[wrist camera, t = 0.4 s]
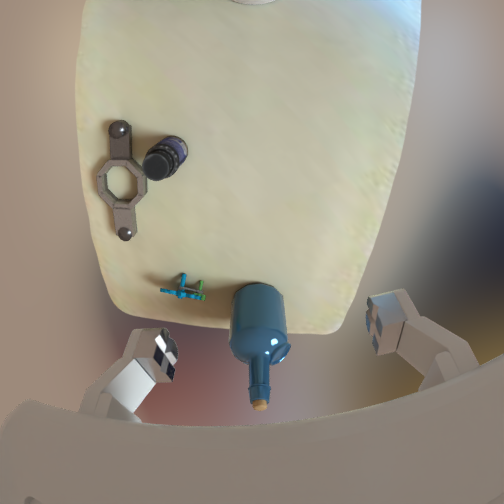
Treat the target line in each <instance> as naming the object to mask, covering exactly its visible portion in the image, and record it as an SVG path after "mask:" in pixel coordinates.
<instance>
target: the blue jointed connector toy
mask: <svg viewBox="0 0 504 504" xmlns="http://www.w3.org/2000/svg"><path fill="white" fill-rule="evenodd" d="M185 280H186V274H182V278H181V284H180V286H179V287H178V291H173V290H168V289H162V288H161V289H160V292H164V293H169V294H174V295H176V296H178V298H181V299H182V297H188V298H193V299H199V300H204V301H205V298H206V295H201V294H203V291H202V285H203V281H200V285H199V290H195V289H191V288H186V287H184V285H185ZM185 289H186V290H191V291H196V293H197V294H196V293H193V295H192V294H187V293H185Z"/></svg>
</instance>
